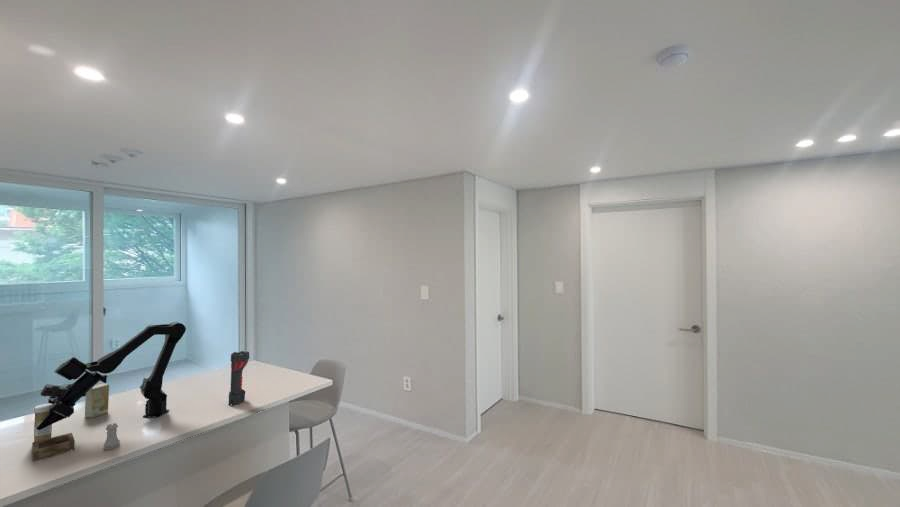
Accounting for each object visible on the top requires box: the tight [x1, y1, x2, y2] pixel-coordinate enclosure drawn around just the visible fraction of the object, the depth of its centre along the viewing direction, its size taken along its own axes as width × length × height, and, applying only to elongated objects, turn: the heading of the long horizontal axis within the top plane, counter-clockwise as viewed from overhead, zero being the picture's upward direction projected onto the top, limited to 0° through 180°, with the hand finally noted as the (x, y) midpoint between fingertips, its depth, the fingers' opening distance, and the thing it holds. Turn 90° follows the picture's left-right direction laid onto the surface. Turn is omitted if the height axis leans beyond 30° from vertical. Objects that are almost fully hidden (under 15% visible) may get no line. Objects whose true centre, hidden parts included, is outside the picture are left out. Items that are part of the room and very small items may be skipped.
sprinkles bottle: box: [33, 402, 53, 442], centre depth 133 cm, size 5×5×13 cm
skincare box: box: [84, 383, 110, 419], centre depth 156 cm, size 6×4×12 cm
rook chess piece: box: [102, 422, 121, 451], centre depth 129 cm, size 4×4×8 cm
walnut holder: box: [31, 432, 76, 462], centre depth 127 cm, size 10×10×3 cm
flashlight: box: [228, 350, 250, 406], centre depth 171 cm, size 8×8×23 cm
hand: (37, 425), depth 131 cm, fingers open, 9 cm apart
